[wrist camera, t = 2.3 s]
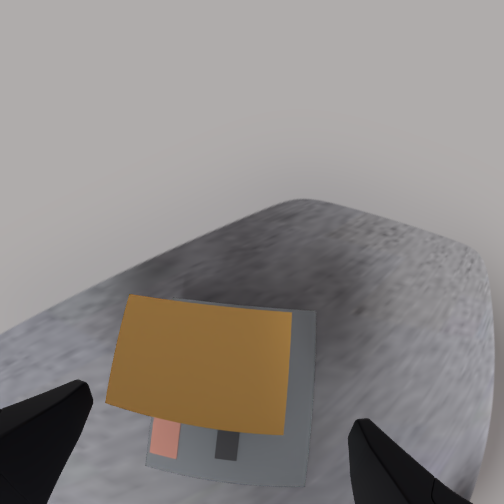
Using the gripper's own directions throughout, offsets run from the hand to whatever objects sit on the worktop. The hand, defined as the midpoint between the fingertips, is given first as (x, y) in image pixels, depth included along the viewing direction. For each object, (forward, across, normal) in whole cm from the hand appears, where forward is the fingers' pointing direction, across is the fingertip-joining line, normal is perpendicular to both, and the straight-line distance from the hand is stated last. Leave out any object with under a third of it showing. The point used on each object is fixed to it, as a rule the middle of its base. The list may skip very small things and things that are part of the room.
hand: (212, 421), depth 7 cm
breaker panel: (+7, 0, +6) cm, 9 cm away
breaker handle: (+6, 0, +4) cm, 7 cm away
